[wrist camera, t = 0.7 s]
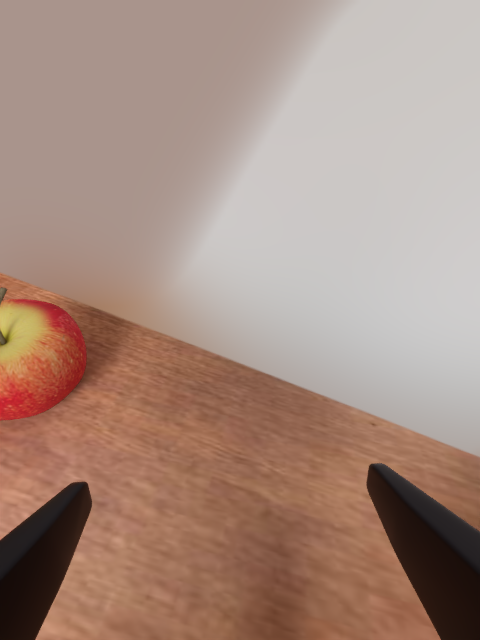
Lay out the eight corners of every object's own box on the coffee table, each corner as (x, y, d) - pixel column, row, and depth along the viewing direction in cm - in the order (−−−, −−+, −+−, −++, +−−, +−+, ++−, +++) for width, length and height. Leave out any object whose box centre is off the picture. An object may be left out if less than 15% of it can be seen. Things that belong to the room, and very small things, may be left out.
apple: (120, 372, 22) (92, 295, 15) (25, 461, 16) (-96, 408, 9) (56, 332, 23) (2, 244, 16) (-51, 402, 18) (-210, 314, 10)
